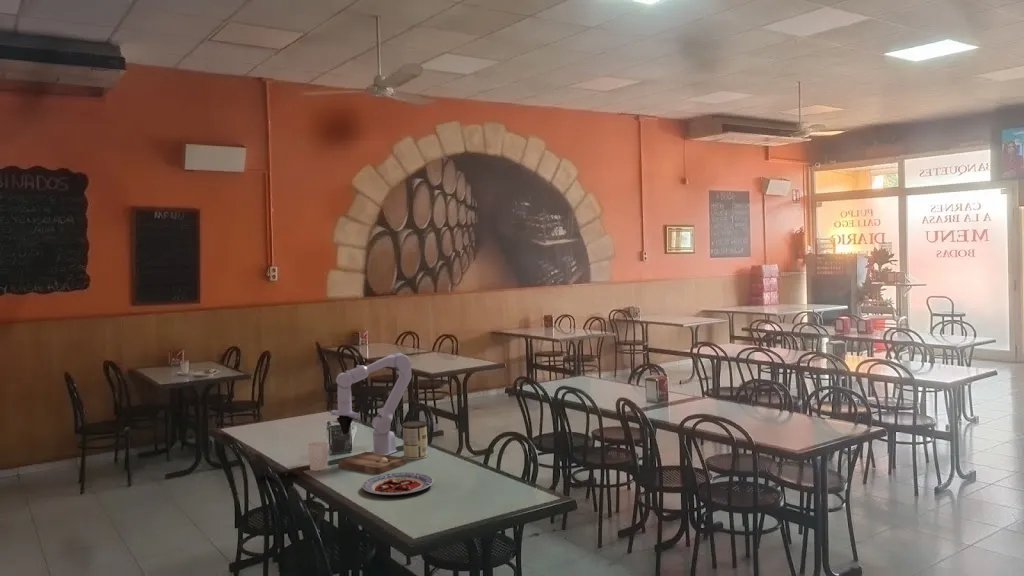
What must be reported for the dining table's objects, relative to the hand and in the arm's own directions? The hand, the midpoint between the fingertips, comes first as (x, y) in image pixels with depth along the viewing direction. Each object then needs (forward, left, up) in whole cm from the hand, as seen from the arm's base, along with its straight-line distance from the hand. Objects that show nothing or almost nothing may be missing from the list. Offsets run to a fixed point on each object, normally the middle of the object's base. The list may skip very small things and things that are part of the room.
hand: (345, 433), depth 320 cm
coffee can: (-15, +25, -11) cm, 31 cm away
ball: (+3, +24, -8) cm, 25 cm away
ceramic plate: (+22, +47, -11) cm, 53 cm away
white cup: (+17, +1, -11) cm, 20 cm away
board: (+4, +18, -10) cm, 21 cm away
